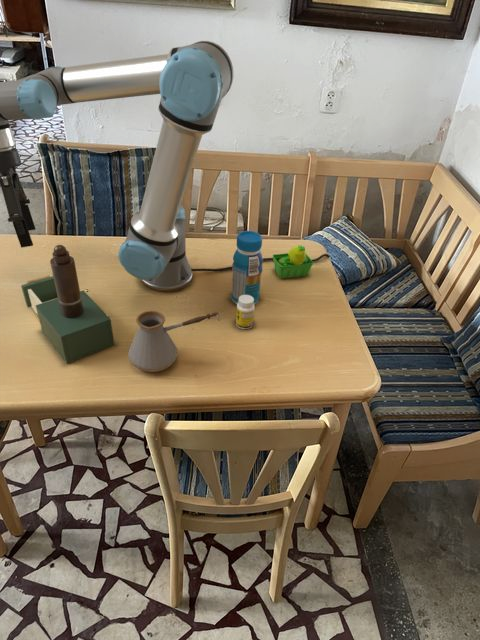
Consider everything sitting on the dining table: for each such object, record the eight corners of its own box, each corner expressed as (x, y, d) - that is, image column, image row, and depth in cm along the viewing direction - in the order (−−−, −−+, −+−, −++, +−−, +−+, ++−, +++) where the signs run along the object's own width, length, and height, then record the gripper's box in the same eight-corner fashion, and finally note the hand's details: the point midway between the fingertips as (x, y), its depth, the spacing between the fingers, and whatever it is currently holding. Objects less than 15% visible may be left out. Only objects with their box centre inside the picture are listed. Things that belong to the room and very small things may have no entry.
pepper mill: (84, 305, 118) (72, 239, 107) (82, 318, 115) (70, 251, 103) (62, 306, 117) (48, 239, 106) (59, 318, 114) (44, 251, 102)
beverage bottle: (226, 303, 138) (229, 240, 125) (234, 288, 145) (238, 226, 132) (255, 309, 137) (261, 246, 124) (262, 294, 144) (268, 232, 131)
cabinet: (42, 331, 122) (35, 305, 117) (88, 315, 128) (83, 290, 123) (66, 363, 114) (60, 336, 109) (114, 345, 120) (110, 319, 115)
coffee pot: (126, 377, 112) (119, 326, 102) (132, 345, 121) (126, 295, 111) (218, 378, 115) (221, 328, 105) (218, 347, 123) (220, 298, 114)
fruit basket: (302, 265, 159) (307, 233, 151) (313, 279, 152) (319, 247, 145) (269, 268, 155) (273, 236, 148) (280, 283, 149) (284, 250, 142)
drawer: (20, 298, 130) (14, 277, 126) (60, 286, 136) (56, 266, 132) (46, 331, 121) (41, 311, 117) (88, 317, 127) (85, 297, 122)
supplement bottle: (235, 318, 133) (236, 293, 128) (252, 319, 134) (254, 293, 128) (235, 329, 129) (237, 303, 124) (253, 330, 130) (256, 304, 125)
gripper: (-12, 143, 121) (16, 226, 133) (-27, 160, 101) (8, 256, 113) (20, 139, 123) (45, 221, 135) (12, 156, 103) (42, 251, 115)
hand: (28, 237), depth 124 cm, fingers open, 13 cm apart
